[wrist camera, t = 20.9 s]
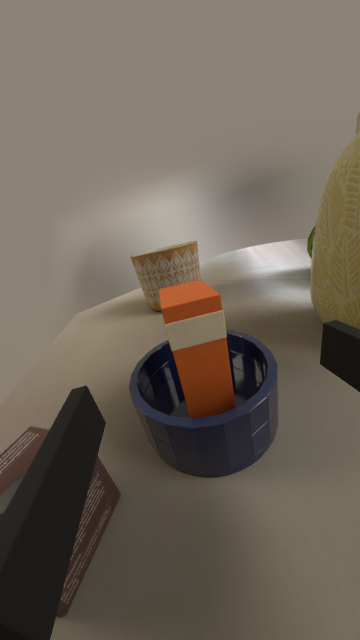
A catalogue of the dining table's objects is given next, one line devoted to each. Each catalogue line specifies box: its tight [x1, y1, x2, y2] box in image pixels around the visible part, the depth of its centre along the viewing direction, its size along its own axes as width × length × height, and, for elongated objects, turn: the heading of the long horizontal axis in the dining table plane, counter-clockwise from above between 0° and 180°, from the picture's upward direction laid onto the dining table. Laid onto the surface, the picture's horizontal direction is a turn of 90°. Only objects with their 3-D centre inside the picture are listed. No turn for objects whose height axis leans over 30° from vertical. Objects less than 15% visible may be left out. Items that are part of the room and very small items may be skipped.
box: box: [0, 426, 121, 617], centre depth 13 cm, size 6×6×7 cm
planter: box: [131, 241, 201, 312], centre depth 58 cm, size 19×19×16 cm
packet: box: [159, 280, 236, 418], centre depth 19 cm, size 5×7×13 cm
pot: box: [129, 330, 278, 477], centre depth 21 cm, size 15×15×6 cm
